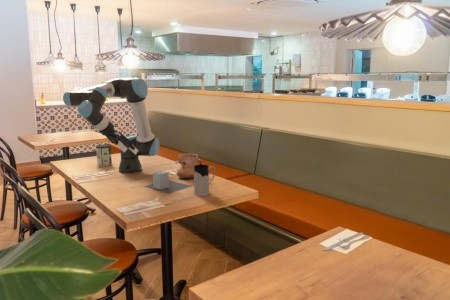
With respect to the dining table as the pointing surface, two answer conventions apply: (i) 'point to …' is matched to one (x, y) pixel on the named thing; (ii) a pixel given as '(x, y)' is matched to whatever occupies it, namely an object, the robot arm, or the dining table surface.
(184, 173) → the ceramic jug
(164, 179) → the block
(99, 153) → the coffee can
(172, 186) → the mat
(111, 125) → the robot arm
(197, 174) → the tall grey mug
